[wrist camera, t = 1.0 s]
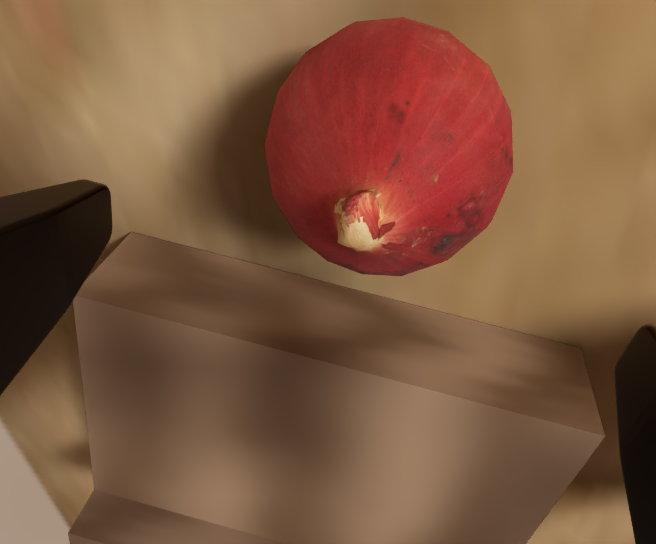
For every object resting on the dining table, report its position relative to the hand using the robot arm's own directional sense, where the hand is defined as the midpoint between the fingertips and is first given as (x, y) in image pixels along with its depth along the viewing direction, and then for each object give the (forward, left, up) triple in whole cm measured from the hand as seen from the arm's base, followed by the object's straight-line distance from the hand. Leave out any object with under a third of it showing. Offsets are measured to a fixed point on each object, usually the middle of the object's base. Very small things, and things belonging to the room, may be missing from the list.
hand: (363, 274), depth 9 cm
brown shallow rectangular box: (0, +13, -9) cm, 16 cm away
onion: (0, 0, -9) cm, 9 cm away
